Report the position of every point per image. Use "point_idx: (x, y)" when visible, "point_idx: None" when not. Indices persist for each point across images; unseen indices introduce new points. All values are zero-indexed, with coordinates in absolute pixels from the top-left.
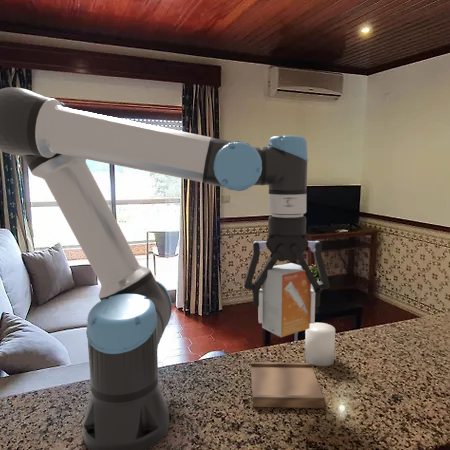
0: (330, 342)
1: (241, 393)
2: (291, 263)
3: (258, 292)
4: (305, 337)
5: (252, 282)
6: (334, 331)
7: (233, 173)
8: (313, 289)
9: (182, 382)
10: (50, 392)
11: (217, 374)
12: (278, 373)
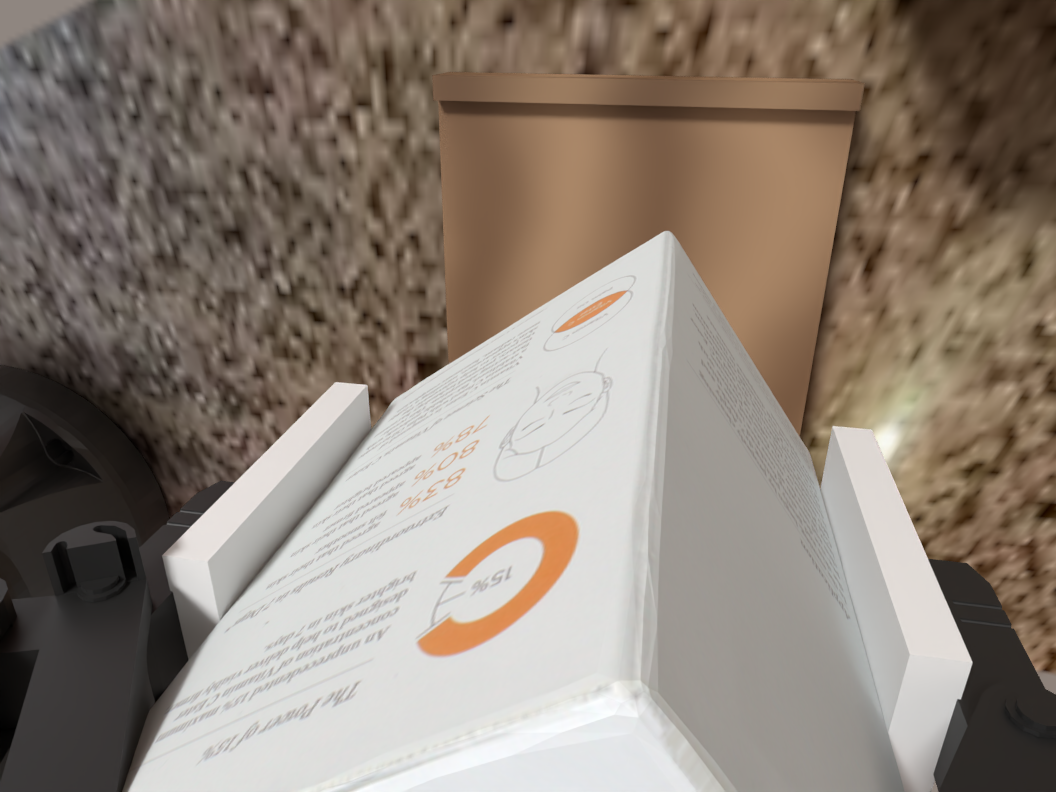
0: None
1: (406, 311)
2: (628, 777)
3: (187, 653)
4: None
5: (22, 656)
6: None
7: None
8: (954, 727)
9: (108, 203)
10: None
11: (261, 120)
12: (604, 194)
